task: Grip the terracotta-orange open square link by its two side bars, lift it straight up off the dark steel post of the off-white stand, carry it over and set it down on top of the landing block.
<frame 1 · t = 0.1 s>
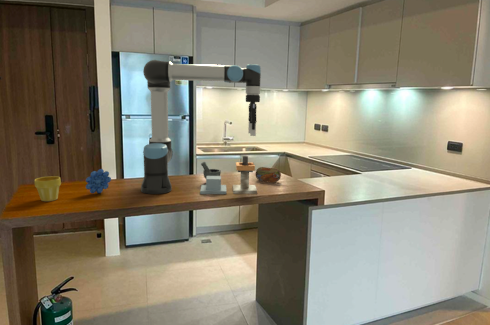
hand: (251, 134, 192), 28 cm above the counter, tool pointing down, fingers open, 13 cm apart
tin: (268, 181, 207), on the counter
landing block: (213, 190, 183), on the counter
plant pot: (49, 199, 162), on the counter
mortar and pestle: (210, 183, 201), on the counter
post stand: (244, 190, 185), on the counter
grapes: (98, 193, 175), on the counter
link: (245, 168, 183), point 11 cm above the counter, touching post stand
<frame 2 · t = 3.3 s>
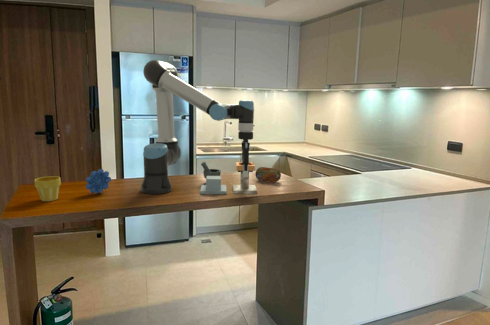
hand: (244, 174, 184), 8 cm above the counter, tool pointing down, fingers closed on link, 9 cm apart
link: (245, 168, 183), point 12 cm above the counter, touching gripper, post stand
everything else where it was.
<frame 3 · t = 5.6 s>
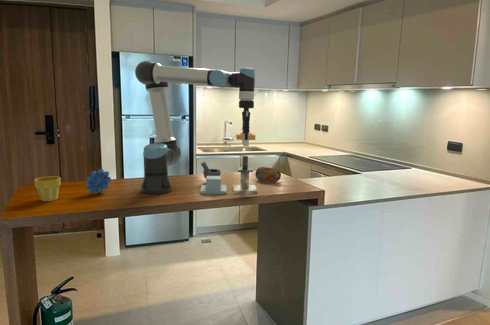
hand: (245, 145, 181), 24 cm above the counter, tool pointing down, fingers closed on link, 9 cm apart
link: (245, 138, 181), point 27 cm above the counter, touching gripper
everything else where it was.
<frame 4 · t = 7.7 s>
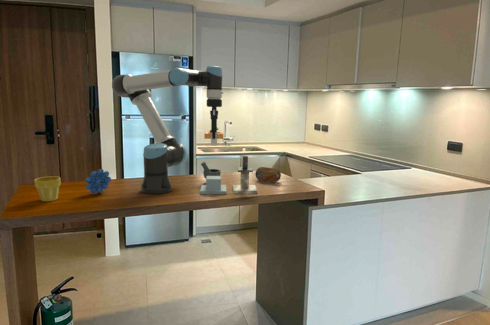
hand: (214, 144, 179), 24 cm above the counter, tool pointing down, fingers closed on link, 9 cm apart
link: (214, 137, 178), point 27 cm above the counter, touching gripper
everything else where it was.
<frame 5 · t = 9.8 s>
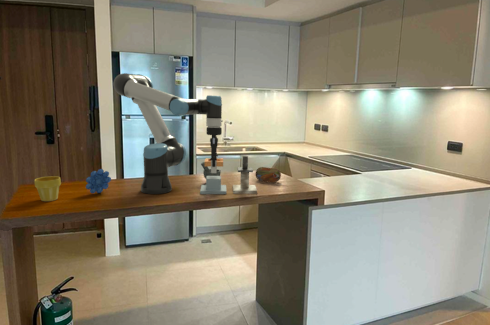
hand: (214, 171, 181), 10 cm above the counter, tool pointing down, fingers closed on link, 9 cm apart
link: (214, 164, 181), point 14 cm above the counter, touching gripper
everything else where it was.
when the fingers open (5 cm above the counter, at t = 11.9 s): link drops 2 cm, resting on landing block.
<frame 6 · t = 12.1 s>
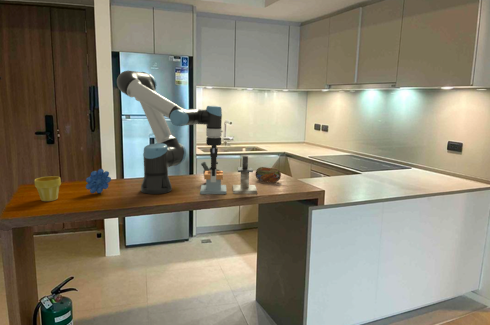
hand: (213, 179, 182), 6 cm above the counter, tool pointing down, fingers open, 11 cm apart
link: (213, 177, 182), point 7 cm above the counter, touching landing block
everything else where it was.
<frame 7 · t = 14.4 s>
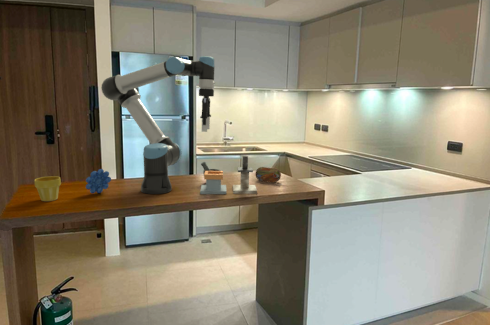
hand: (205, 130, 184), 30 cm above the counter, tool pointing down, fingers open, 13 cm apart
nothing on the counter moved.
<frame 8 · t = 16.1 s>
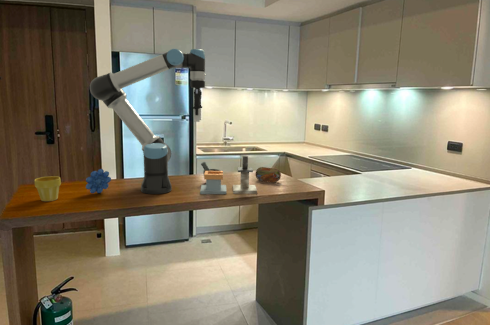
hand: (197, 121, 190), 35 cm above the counter, tool pointing down, fingers open, 13 cm apart
nothing on the counter moved.
at the end: link 0.0 cm off-centre on the landing block, point 7.0 cm above the landing block's base; link tilted 0°; the gripper is holding nothing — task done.
